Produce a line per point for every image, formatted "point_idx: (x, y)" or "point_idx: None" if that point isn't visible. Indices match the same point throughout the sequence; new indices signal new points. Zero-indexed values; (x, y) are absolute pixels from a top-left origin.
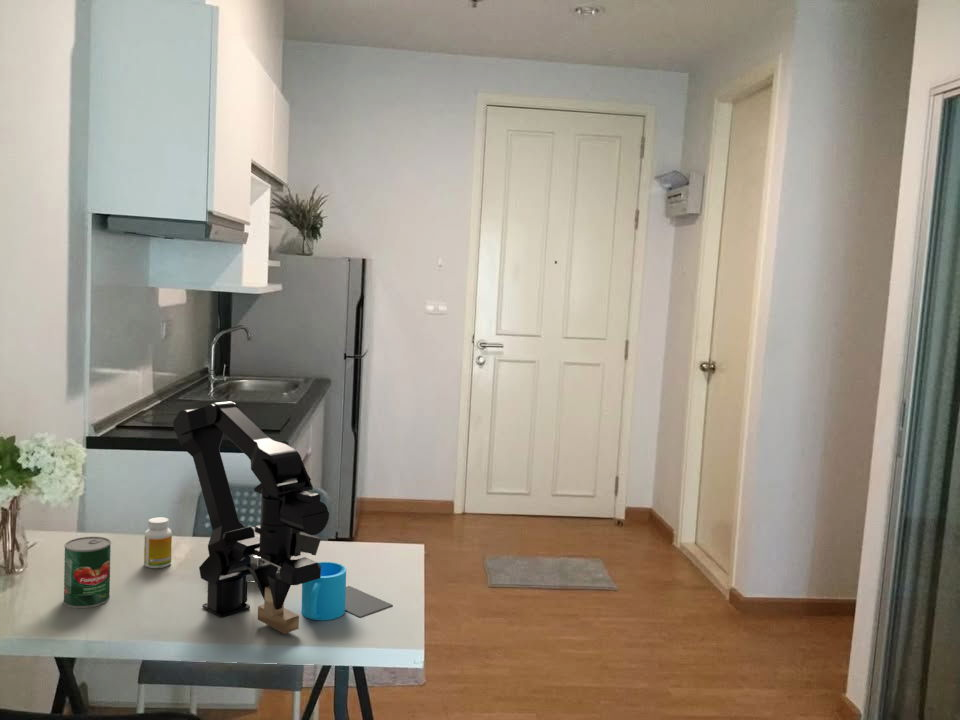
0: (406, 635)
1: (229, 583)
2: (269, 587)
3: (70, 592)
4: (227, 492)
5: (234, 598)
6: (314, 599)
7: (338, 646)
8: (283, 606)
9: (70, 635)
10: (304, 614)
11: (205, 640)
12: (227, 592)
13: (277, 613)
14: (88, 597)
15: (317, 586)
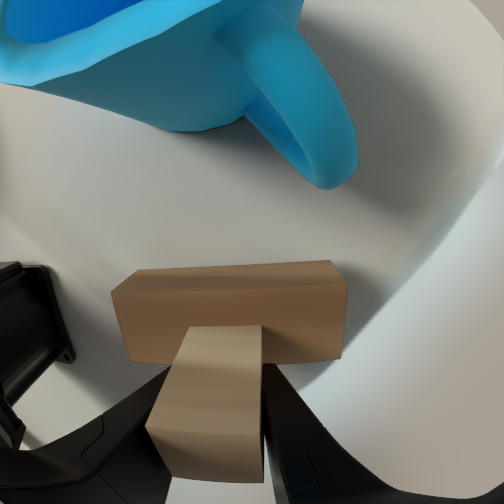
0: (484, 29)
1: (6, 384)
2: (185, 469)
3: None
4: None
5: (32, 340)
6: (354, 161)
7: (468, 201)
8: (259, 343)
9: None
10: (184, 130)
11: None
12: (23, 370)
13: (263, 359)
14: None
15: (312, 70)
